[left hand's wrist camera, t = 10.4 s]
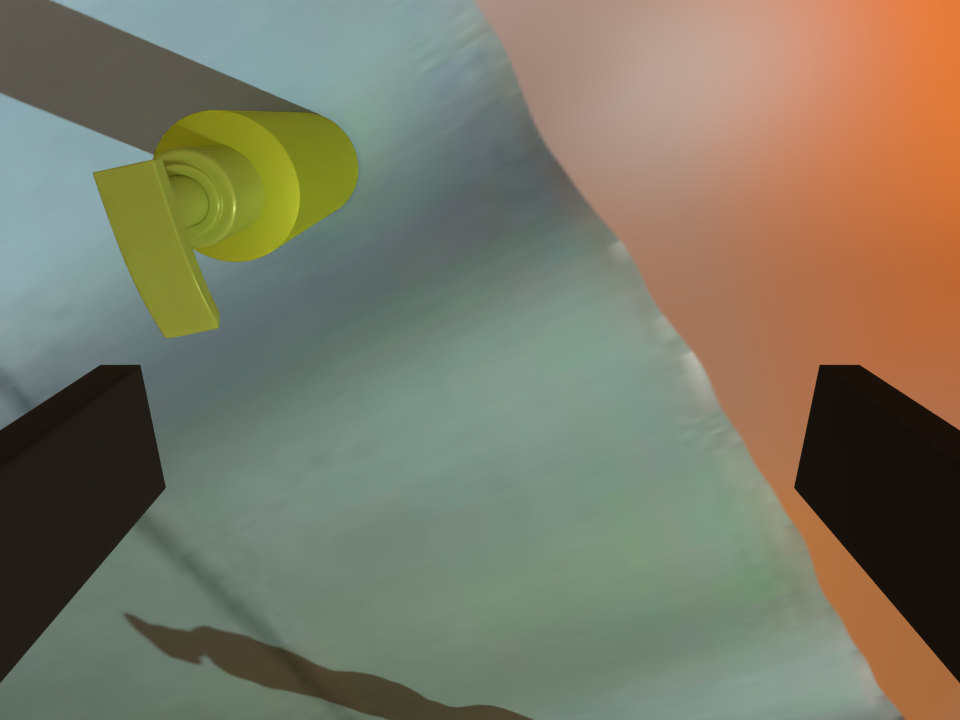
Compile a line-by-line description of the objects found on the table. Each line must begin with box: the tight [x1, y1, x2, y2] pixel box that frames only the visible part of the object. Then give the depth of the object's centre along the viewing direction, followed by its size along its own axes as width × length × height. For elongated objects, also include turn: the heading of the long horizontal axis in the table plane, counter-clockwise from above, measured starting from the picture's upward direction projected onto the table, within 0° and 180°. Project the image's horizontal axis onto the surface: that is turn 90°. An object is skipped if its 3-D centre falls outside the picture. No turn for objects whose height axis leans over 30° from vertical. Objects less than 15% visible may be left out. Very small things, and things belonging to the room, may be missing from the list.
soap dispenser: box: [93, 110, 358, 338], centre depth 28 cm, size 6×7×20 cm
